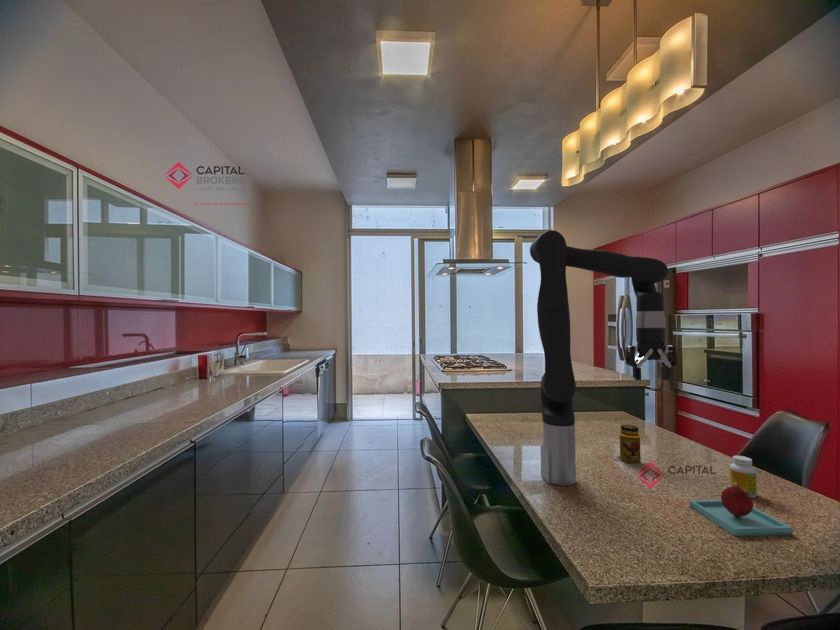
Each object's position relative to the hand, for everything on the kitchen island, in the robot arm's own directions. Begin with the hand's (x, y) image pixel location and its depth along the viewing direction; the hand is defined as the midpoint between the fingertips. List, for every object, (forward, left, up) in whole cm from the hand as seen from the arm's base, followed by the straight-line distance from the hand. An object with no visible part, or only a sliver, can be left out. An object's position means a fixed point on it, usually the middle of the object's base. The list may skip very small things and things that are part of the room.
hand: (651, 379), depth 109 cm
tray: (+5, -22, -30) cm, 38 cm away
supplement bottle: (+19, -9, -30) cm, 37 cm away
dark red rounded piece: (+5, -22, -30) cm, 37 cm away
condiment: (+2, +16, -30) cm, 34 cm away
